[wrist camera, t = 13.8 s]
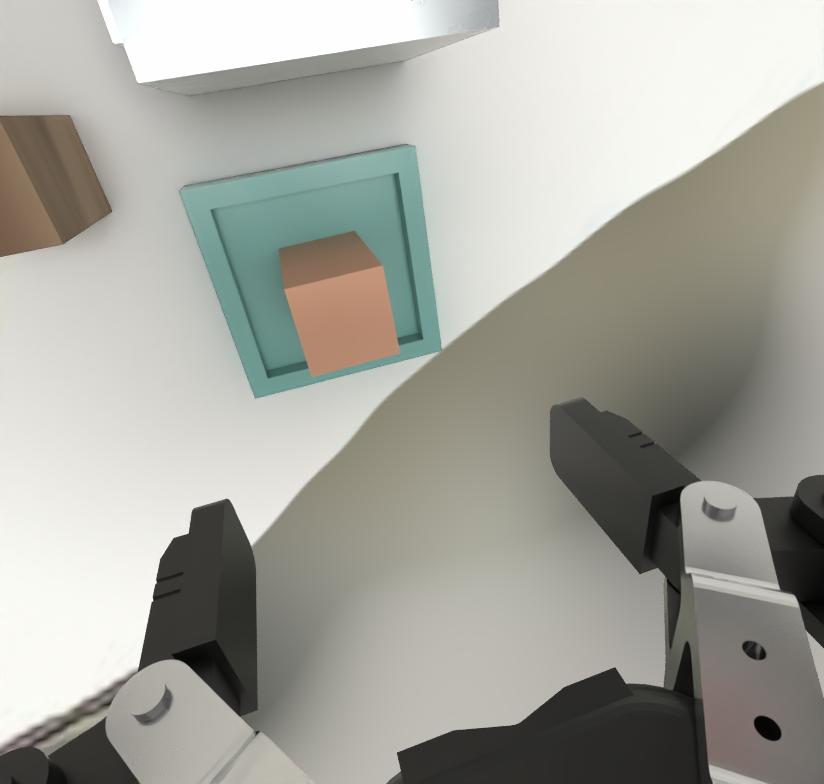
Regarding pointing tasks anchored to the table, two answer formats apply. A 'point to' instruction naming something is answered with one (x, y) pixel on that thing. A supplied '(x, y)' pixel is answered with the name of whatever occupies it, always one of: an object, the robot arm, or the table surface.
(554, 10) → the table surface
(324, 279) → the terracotta block
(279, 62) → the grey unit
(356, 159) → the teal tray
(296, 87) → the table surface
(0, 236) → the walnut block
